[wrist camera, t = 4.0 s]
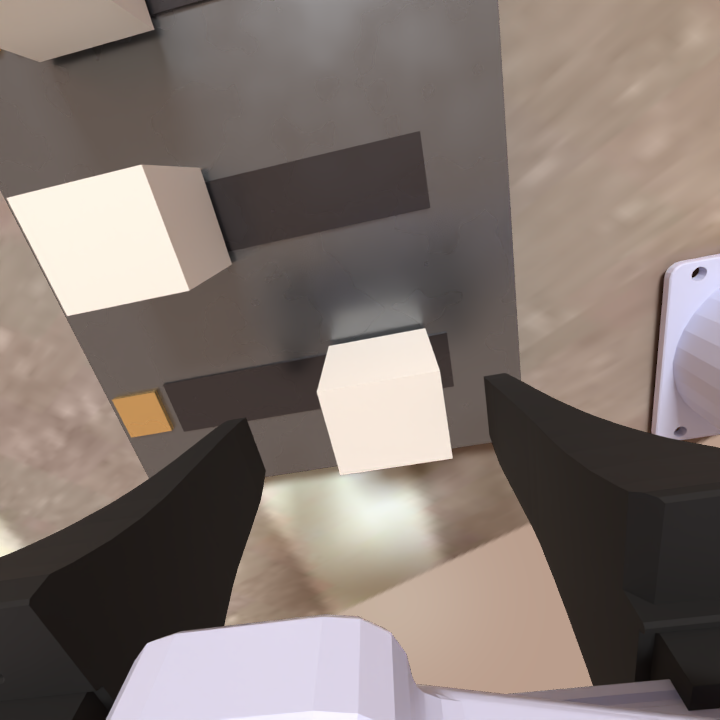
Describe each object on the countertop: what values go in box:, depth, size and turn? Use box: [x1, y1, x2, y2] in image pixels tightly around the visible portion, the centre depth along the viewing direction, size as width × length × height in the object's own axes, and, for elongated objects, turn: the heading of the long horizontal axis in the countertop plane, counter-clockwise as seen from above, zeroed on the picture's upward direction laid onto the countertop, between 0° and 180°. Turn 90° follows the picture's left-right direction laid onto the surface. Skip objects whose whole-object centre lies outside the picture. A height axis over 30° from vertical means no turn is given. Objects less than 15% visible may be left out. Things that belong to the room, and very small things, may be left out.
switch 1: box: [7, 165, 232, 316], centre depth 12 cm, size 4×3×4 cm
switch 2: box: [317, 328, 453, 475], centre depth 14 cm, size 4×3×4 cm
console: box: [0, 0, 521, 478], centre depth 14 cm, size 16×21×2 cm
